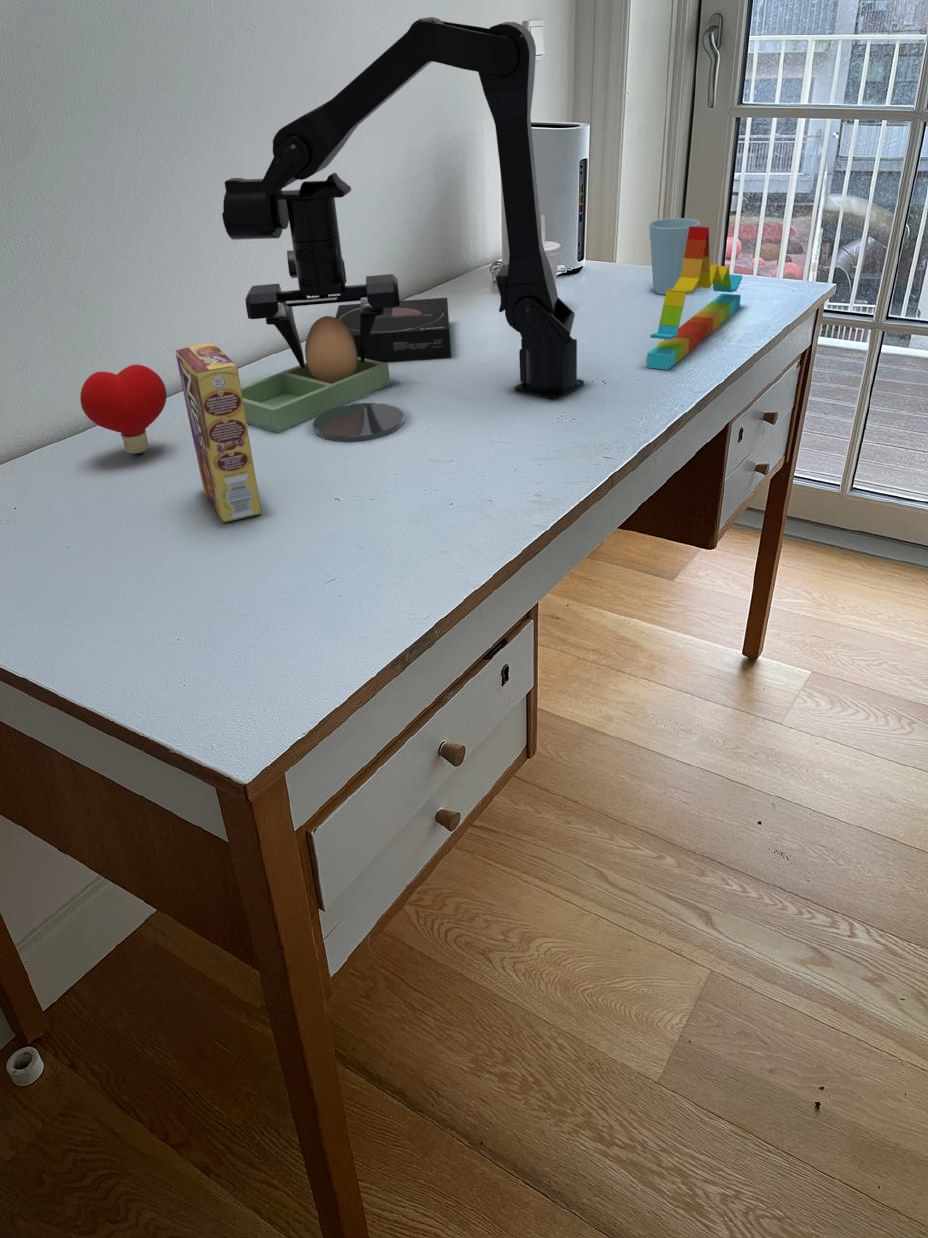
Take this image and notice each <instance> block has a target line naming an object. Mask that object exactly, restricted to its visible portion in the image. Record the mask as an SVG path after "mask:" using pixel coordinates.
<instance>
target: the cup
mask: <svg viewBox="0 0 928 1238" xmlns="http://www.w3.org/2000/svg"><path fill="white" fill-rule="evenodd" d="M648 225H649V226H648V227H649V240H650V241H649V242H650V255H651V257H650V258H651V270H652V271H651V272H652V273H651V274H652V288H653V292H654V293H655V294H658V295H662V296H665V295H666V290H668V289H673V288H674V286H675V285H676V283H677V281H678V280H679V278H680V275H681V270H682V264H683V259H684V253H685V248H686V243H687V237H688V232H689V226H691V227H700V225H701V223H700V220H697V219H693V218H686V217H671V218H660V219H656V220H653V221H651V222H650V223H649V224H648Z"/></svg>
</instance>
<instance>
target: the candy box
mask: <svg viewBox="0 0 928 1238" xmlns="http://www.w3.org/2000/svg"><path fill="white" fill-rule="evenodd" d="M174 352H175V357H176V361H177V362H176V363H177V367H178V372H179V377H180V382H181V387H182V392H183V397H184V402H185V406H186V411H187V418H188V422H189V426H190V432H191V437H192V440H193V446H194V451H195V455H196V456H195V457H196V459H197V465H198V469H199V475H200V480H201V484H202V490H203V492H204V494H205V496H206V497H207V499H208V500H209V502H210V503H211V505H212V507H213V508H214V510H215V511H216V512H217V514H218V516H219V518H220V519H221V521H222V522H223V523H228V522H233V521H238V520H242V519H245V518H250V517H255V516H260V515H261V514H262V509H261V502H260V496H259V491H258V484H257V477H256V471H255V465H254V459H253V453H252V452H253V451H252V448H251V447H252V446H251V441H250V436H249V430H248V423H246V417H245V411H244V405H243V399H242V392H241V387H242V386H241V380H240V375H239V369H238V365H237V364H236V363H235V362H234V361H233V360H232V359H231V358H230V357H228V355H227V354H226V353H224V352H223V350H222V349H221V348H219V346H217V345H216V344H215V343H202V344H196V345H191V346H187V347H184V348H180V349H176V350H175V351H174Z"/></svg>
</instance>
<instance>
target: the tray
mask: <svg viewBox="0 0 928 1238" xmlns="http://www.w3.org/2000/svg"><path fill="white" fill-rule="evenodd" d="M304 363H305V367H304V368H301V366H300V364H298V365H296V366H293V367H291V368H288V369H286V370H283V371H281V372H278V373H274V374H273V375H270V376H267V377H264V378H262V379H258V380H256V381H253V382H251V383H249V384H246V385H243V386H241V392H242V399H243V405H244V411H245V417H246V423H247V425H252V426H255V427H257V428H261V429H264V430H268V431H271V432H274V433H277V434H278V433H281V432H282V431H285V430H288V429H289V428H293V427H294V426H297V425H298V424H299V425H300V424H301V423H303V422H306V421H309V420H310V419H313V418H316V417H318V416H319V415H320V414H322V413H324V412H326V411H328V410H331V409H334V408H337V407H341V406H344V405H347V404H348V403H350V402H352V401H355V400H357V399H360V398H362V397H364V396H367V395H369V394H371V393H373V392H376V391H378V390H381V389H383V388H386V387H387V386H390V385H391V376H390V368H389V362H379V361H374V360H370V359H365V360H364V362H362V363H361V359H360V357H358V360H357V367H356V370H355V372H354V375H352V376H350V377H347V378H345V379H342V380H340V381H338V382H335V383H333V384H331V383H327V382H323V381H319V380H316V379H315V378H314V377H313V375H312V374H311V372H310V371H309V368H308V366H307V362H304Z"/></svg>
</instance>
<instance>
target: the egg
mask: <svg viewBox="0 0 928 1238" xmlns="http://www.w3.org/2000/svg"><path fill="white" fill-rule="evenodd" d="M306 336H307V337H306V341H305V346H304V354H305V361H306V362H305V363H307V366H308V368H309V371H310V372H311V374H312V375H313V377H314V378H315V379H316V380H319V381H323V382H327V383H331V384H333V383H335V382H338V381H340V380H342V379H345V378H347V377H350V376H352V375H354V372H355V370H356V367H357V360H358V356H357V349H356V345H355V341H354V339H353V337H352V335H351V333H350V332H349V330H348V328H347V327H346V326H345V325H344V324H343V323H342V322H341V321H340V320H338V319H337V318H335V317H334V316H330V315H325V316H322V317H320V318H318V319H317V320H316V321H314V322H313V324H312V325H311V326H310V329H309V331H308V333H307V335H306Z"/></svg>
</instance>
